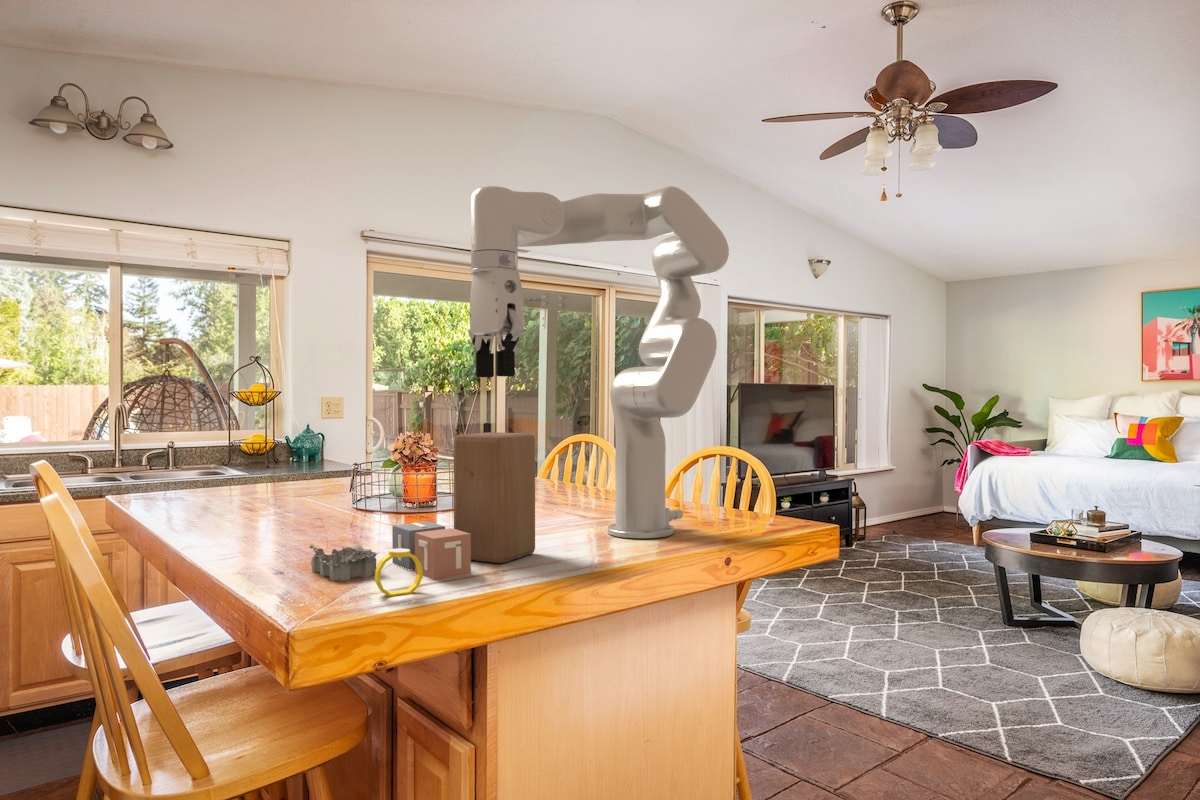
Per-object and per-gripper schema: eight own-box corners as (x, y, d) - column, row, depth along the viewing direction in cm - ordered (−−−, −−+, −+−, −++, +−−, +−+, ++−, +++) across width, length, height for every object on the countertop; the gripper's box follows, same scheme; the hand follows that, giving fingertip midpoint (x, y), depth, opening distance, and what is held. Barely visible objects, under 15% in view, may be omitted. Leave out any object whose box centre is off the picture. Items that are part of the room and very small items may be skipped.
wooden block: (451, 559, 120) (450, 434, 120) (488, 548, 129) (488, 431, 129) (502, 565, 115) (502, 436, 115) (537, 553, 124) (537, 433, 124)
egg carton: (306, 571, 113) (306, 544, 113) (355, 564, 118) (355, 538, 118) (330, 584, 105) (330, 555, 105) (382, 576, 110) (382, 548, 110)
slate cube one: (427, 558, 121) (427, 520, 121) (445, 565, 116) (445, 525, 116) (391, 563, 117) (391, 524, 117) (408, 571, 112) (408, 529, 112)
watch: (416, 591, 102) (419, 547, 102) (423, 596, 99) (426, 551, 99) (372, 594, 99) (375, 548, 99) (377, 599, 96) (380, 552, 96)
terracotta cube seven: (451, 567, 115) (451, 528, 115) (471, 574, 110) (471, 533, 110) (413, 573, 111) (413, 532, 111) (432, 581, 106) (432, 539, 106)
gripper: (543, 260, 118) (544, 376, 118) (487, 274, 131) (487, 378, 131) (502, 255, 113) (503, 375, 113) (448, 270, 126) (449, 377, 126)
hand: (494, 375), depth 122 cm, fingers open, 5 cm apart
